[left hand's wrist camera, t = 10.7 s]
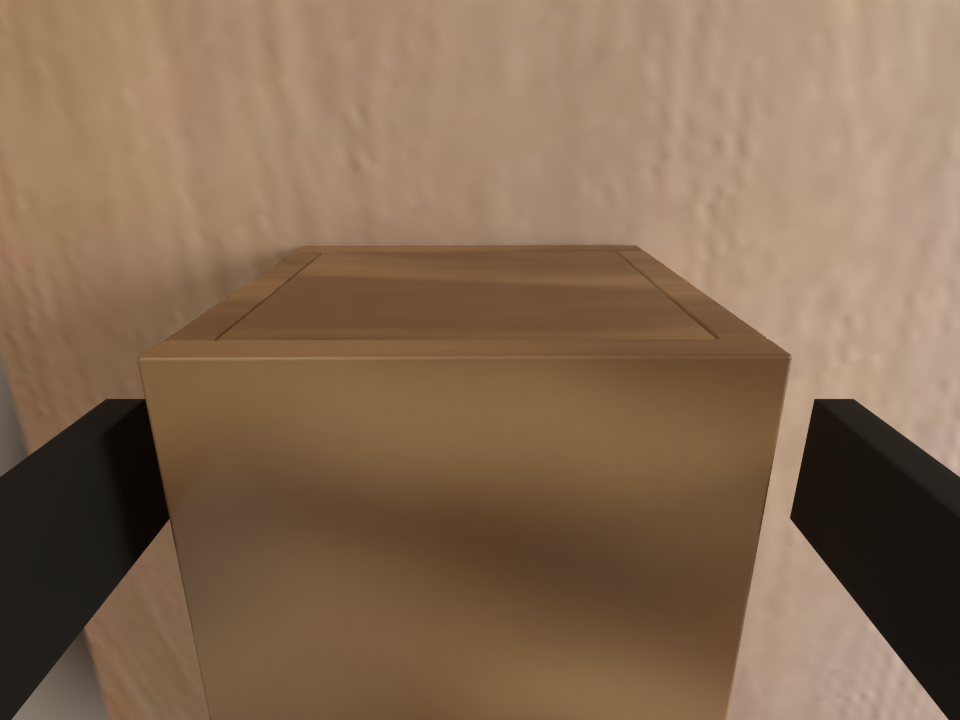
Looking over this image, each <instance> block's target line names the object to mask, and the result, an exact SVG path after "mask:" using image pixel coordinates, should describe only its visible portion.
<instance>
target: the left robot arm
mask: <svg viewBox="0 0 960 720" xmlns="http://www.w3.org/2000/svg"><path fill="white" fill-rule="evenodd" d="M169 519H170V518H169V513H168V508H167V503H166V498H165V493H164V488H163V483H162V478H161V473H160V468H159V463H158V458H157V453H156V449H155V444H154V439H153V434H152V429H151V424H150V419H149V414H148V409H147V404H146V400H145V399H106V400H104V401H103V402H102V403H100V404H99V405H98V406H96V407H95V408H94V409H92V410H91V411H90V412H88V413H87V414H85V415H84V416H83V417H81V418H80V419H79V420H77V421H76V422H75V423H73V424H72V425H71V426H69V427H68V428H66V429H65V430H64V431H62V432H61V433H60V434H58V435H57V436H56V437H54V438H53V439H51V440H50V441H49V442H47V443H46V444H45V445H43V446H42V447H41V448H39V449H38V450H37V451H35V452H34V453H32V454H31V455H30V456H28V457H27V458H26V459H24V460H23V461H22V462H20V463H19V464H17V465H16V466H15V467H14V468H12V469H11V470H9V471H8V472H7V473H5V474H4V475H3V476H1V477H0V720H11V719H12V718H13V717H14V716H15V714H16V713H17V712H18V711H19V709H20V708H21V707H22V705H23V704H24V703H25V702H26V700H27V699H28V698H29V696H30V695H31V694H32V693H33V691H34V690H35V689H36V688H37V686H38V685H39V684H40V683H41V681H42V680H43V679H44V678H45V676H46V675H47V674H48V672H49V671H50V670H51V669H52V667H53V666H54V665H55V663H56V662H57V661H58V660H59V658H60V657H61V656H62V655H63V653H64V652H65V651H66V650H67V648H68V647H69V646H70V644H71V643H72V642H73V641H74V639H75V638H76V637H77V636H78V634H79V633H80V632H81V630H82V629H83V628H84V627H85V625H86V624H87V623H88V622H89V620H90V619H91V618H92V617H93V615H94V614H95V613H96V611H97V610H98V609H99V608H100V606H101V605H102V604H103V603H104V601H105V600H106V599H107V597H108V596H109V595H110V594H111V592H112V591H113V590H114V589H115V587H116V586H117V585H118V584H119V582H120V581H121V580H122V578H123V577H124V576H125V575H126V573H127V572H128V571H129V570H130V568H131V567H132V566H133V564H134V563H135V562H136V561H137V559H138V558H139V557H140V556H141V554H142V553H143V552H144V550H145V549H146V548H147V547H148V545H149V544H150V543H151V542H152V540H153V539H154V538H155V537H156V535H157V534H158V533H159V531H160V530H161V529H162V528H163V526H164V525H165V524H166V523H167V521H168V520H169ZM790 519H791V520H792V521H793V523H794V524H795V525H796V526H797V528H798V529H799V530H800V531H801V533H802V534H803V535H804V537H805V538H806V539H807V540H808V542H809V543H810V544H811V545H812V547H813V548H814V549H815V550H816V552H817V553H818V554H819V556H820V557H821V558H822V559H823V561H824V562H825V563H826V564H827V566H828V567H829V568H830V570H831V571H832V572H833V573H834V575H835V576H836V577H837V578H838V580H839V581H840V582H841V584H842V585H843V586H844V587H845V589H846V590H847V591H848V592H849V594H850V595H851V596H852V597H853V599H854V600H855V601H856V603H857V604H858V605H859V606H860V608H861V609H862V610H863V611H864V613H865V614H866V615H867V617H868V618H869V619H870V620H871V622H872V623H873V624H874V625H875V627H876V628H877V629H878V631H879V632H880V633H881V634H882V636H883V637H884V638H885V639H886V641H887V642H888V643H889V644H890V646H891V647H892V648H893V650H894V651H895V652H896V653H897V655H898V656H899V657H900V658H901V660H902V661H903V662H904V664H905V665H906V666H907V667H908V669H909V670H910V671H911V672H912V674H913V675H914V676H915V678H916V679H917V680H918V681H919V683H920V684H921V685H922V686H923V688H924V689H925V690H926V691H927V693H928V694H929V695H930V697H931V698H932V699H933V700H934V702H935V703H936V704H937V705H938V707H939V708H940V709H941V711H942V712H943V713H944V714H945V716H946V717H947V718H948V719H949V720H960V477H959V476H957V475H956V474H955V473H953V472H952V471H951V470H949V469H948V468H947V467H945V466H944V465H943V464H941V463H940V462H938V461H937V460H936V459H934V458H933V457H932V456H930V455H929V454H928V453H926V452H925V451H923V450H922V449H921V448H919V447H918V446H917V445H915V444H914V443H913V442H911V441H910V440H909V439H907V438H906V437H904V436H903V435H902V434H900V433H899V432H898V431H896V430H895V429H894V428H892V427H891V426H889V425H888V424H887V423H885V422H884V421H883V420H881V419H880V418H879V417H877V416H876V415H875V414H873V413H872V412H870V411H869V410H868V409H866V408H865V407H864V406H862V405H861V404H860V403H858V402H857V401H855V400H854V399H815V400H814V404H813V409H812V414H811V419H810V424H809V429H808V434H807V438H806V443H805V448H804V453H803V458H802V463H801V468H800V473H799V477H798V482H797V487H796V492H795V497H794V502H793V507H792V511H791V516H790Z"/></svg>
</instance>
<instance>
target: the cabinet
mask: <svg viewBox="0 0 960 720" xmlns="http://www.w3.org/2000/svg"><path fill="white" fill-rule="evenodd" d="M791 359H792V358H791V355H790V354H789V353H788V352H786V351H785V350H783V349H782V348H781V347H779V346H778V345H776V344H775V343H774V342H772V341H771V340H769V339H766V337H765V336H763V335H762V334H761V333H759V332H758V331H756V330H755V329H754V328H752V327H751V326H749V325H748V324H747V323H745V322H744V321H742V320H741V319H739V318H738V317H737V316H735V315H734V314H732V313H731V312H730V311H728V310H727V309H725V308H724V307H723V306H721V305H720V304H718V303H717V302H716V301H714V300H713V299H711V298H710V297H709V296H707V295H706V294H704V293H703V292H701V291H700V290H699V289H697V288H696V287H694V286H693V285H692V284H690V283H689V282H687V281H686V280H685V279H683V278H682V277H680V276H679V275H678V274H676V273H675V272H673V271H672V270H671V269H669V268H668V267H666V266H665V265H663V264H662V263H661V262H659V261H658V260H656V259H655V258H654V257H652V256H651V255H649V254H648V253H647V252H645V251H643V250H642V249H640V248H639V247H638V246H304V247H301V248H300V249H298V250H297V251H296V252H294V253H292V254H291V255H289V256H288V257H286V258H285V259H284V260H282V261H281V262H279V263H278V264H276V265H275V266H273V267H272V268H270V269H269V270H267V271H266V272H264V273H263V274H262V275H260V276H259V277H257V278H256V279H254V280H253V281H251V282H250V283H248V284H247V285H245V286H244V287H242V288H241V289H239V290H238V291H237V292H235V293H234V294H232V295H231V296H229V297H228V298H226V299H225V300H223V301H222V302H220V303H219V304H217V305H216V306H214V307H213V308H212V309H210V310H209V311H207V312H206V313H204V314H203V315H201V316H200V317H198V318H197V319H195V320H194V321H192V322H191V323H190V324H188V325H187V326H185V327H184V328H182V329H181V330H179V331H178V332H176V333H175V334H173V335H172V336H170V337H169V338H167V339H166V341H163V342H161V343H159V344H158V345H156V346H155V347H153V348H152V349H150V350H149V351H147V352H146V353H144V354H143V355H141V356H140V357H139V358H138V364H139V369H140V374H141V379H142V384H143V389H144V394H145V399H146V404H147V409H148V414H149V419H150V424H151V429H152V434H153V439H154V444H155V449H156V453H157V458H158V463H159V468H160V473H161V478H162V483H163V488H164V493H165V498H166V503H167V508H168V513H169V518H170V523H171V528H172V533H173V538H174V543H175V548H176V553H177V558H178V562H179V567H180V572H181V577H182V582H183V587H184V592H185V597H186V602H187V607H188V612H189V617H190V622H191V627H192V632H193V637H194V642H195V647H196V652H197V657H198V662H199V667H200V672H201V676H202V681H203V686H204V691H205V696H206V701H207V706H208V711H209V716H210V720H726V717H727V712H728V706H729V701H730V695H731V690H732V684H733V679H734V673H735V668H736V662H737V657H738V651H739V646H740V640H741V635H742V629H743V624H744V618H745V612H746V607H747V601H748V596H749V590H750V585H751V579H752V574H753V568H754V563H755V557H756V552H757V546H758V541H759V535H760V530H761V524H762V519H763V513H764V508H765V502H766V497H767V491H768V486H769V480H770V475H771V469H772V464H773V458H774V453H775V447H776V442H777V436H778V431H779V425H780V420H781V414H782V409H783V403H784V398H785V392H786V387H787V381H788V376H789V370H790V365H791Z"/></svg>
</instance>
